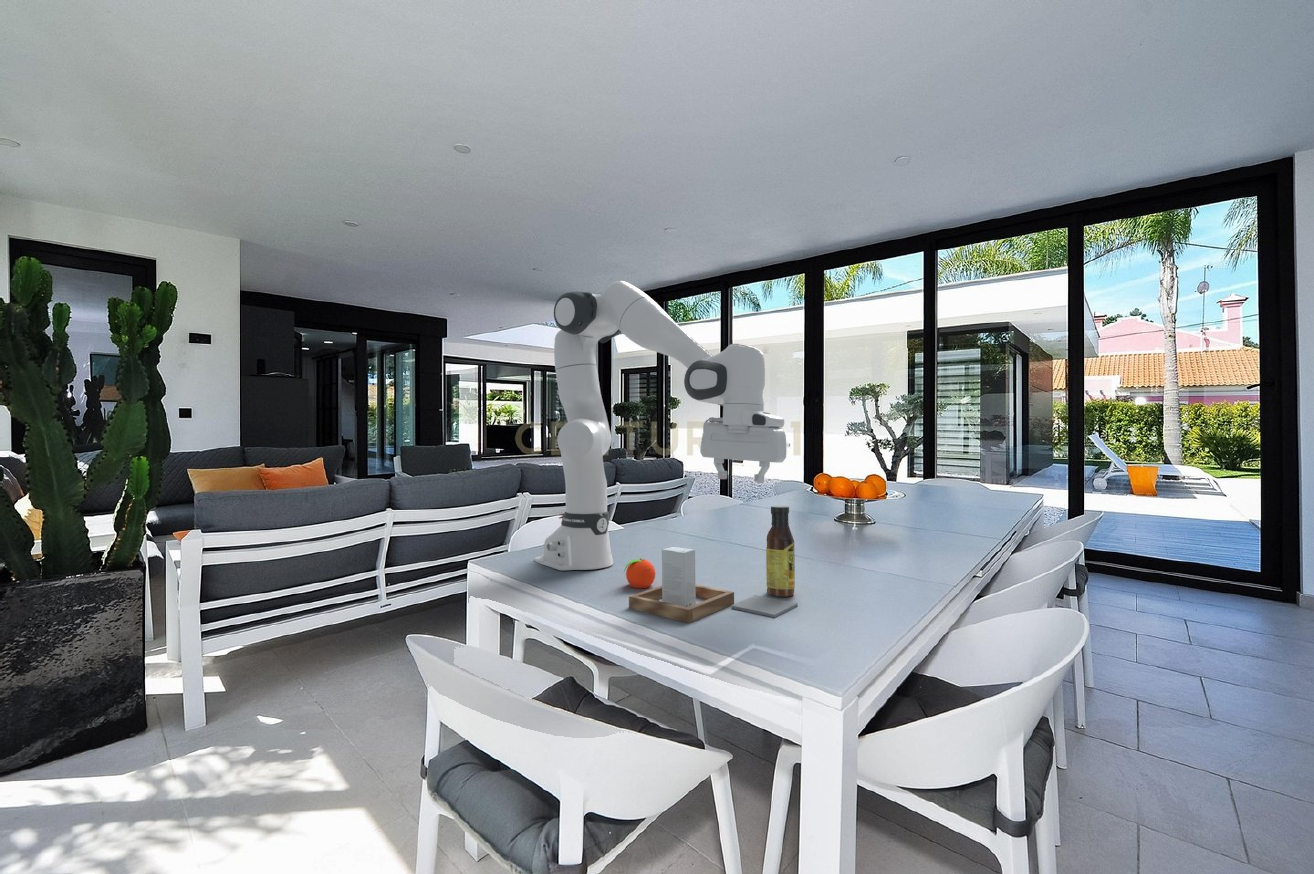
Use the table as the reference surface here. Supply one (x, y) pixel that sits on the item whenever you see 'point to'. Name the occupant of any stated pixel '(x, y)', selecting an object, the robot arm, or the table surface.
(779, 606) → the slate pad
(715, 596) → the frame
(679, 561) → the skincare box
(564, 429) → the robot arm
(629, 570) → the clementine
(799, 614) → the table surface
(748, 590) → the table surface
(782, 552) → the sauce bottle
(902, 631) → the table surface
